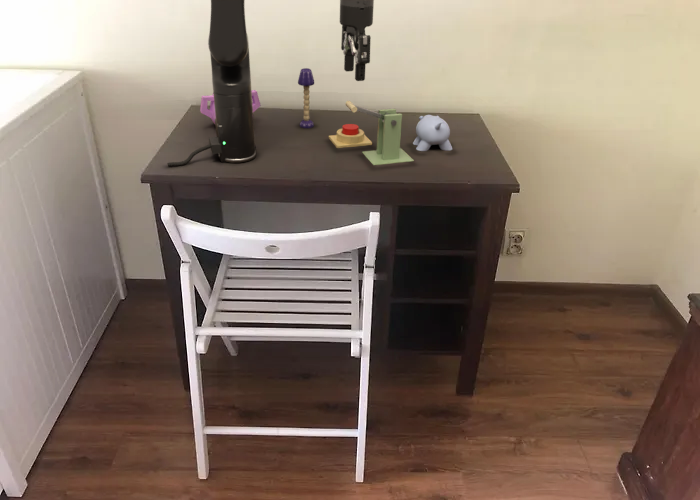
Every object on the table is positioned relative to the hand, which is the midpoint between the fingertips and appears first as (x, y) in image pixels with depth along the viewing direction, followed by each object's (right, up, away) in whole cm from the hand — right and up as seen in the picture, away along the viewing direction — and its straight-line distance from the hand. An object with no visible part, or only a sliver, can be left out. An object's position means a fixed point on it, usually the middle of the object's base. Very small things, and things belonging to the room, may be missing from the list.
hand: (354, 75), depth 142 cm
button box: (-1, -12, +23) cm, 26 cm away
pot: (-35, -6, +33) cm, 48 cm away
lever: (+4, -9, +6) cm, 11 cm away
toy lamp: (-14, -5, +34) cm, 37 cm away
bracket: (+9, -18, +14) cm, 24 cm away
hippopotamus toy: (+21, -13, +23) cm, 34 cm away
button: (-1, -10, +21) cm, 23 cm away
